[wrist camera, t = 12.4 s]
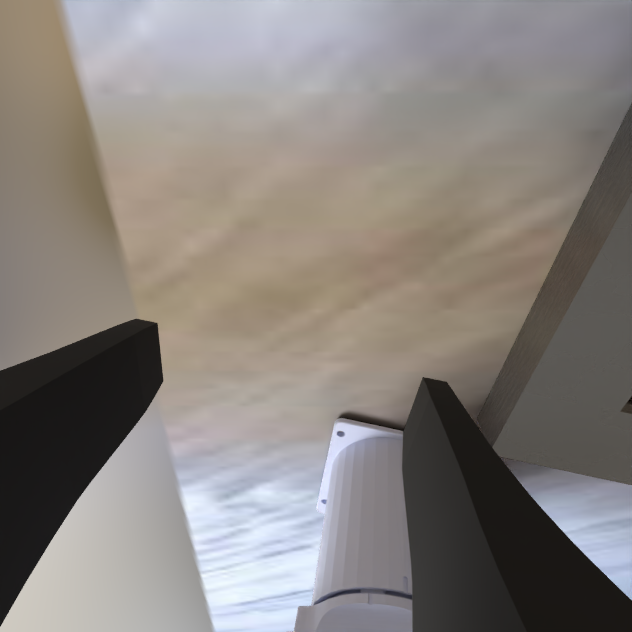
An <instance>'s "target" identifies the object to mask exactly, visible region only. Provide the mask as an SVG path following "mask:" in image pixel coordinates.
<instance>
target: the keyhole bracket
mask: <svg viewBox="0 0 632 632" xmlns="http://www.w3.org/2000/svg"><path fill="white" fill-rule="evenodd" d="M631 396H632V104H631V106H630V108H629V110H628V112H627V114H626V116H625V118H624V120H623V122H622V124H621V126H620V128H619V131H618V133H617V135H616V137H615V139H614V141H613V143H612V145H611V147H610V149H609V151H608V153H607V155H606V157H605V159H604V161H603V163H602V165H601V167H600V169H599V171H598V173H597V175H596V178H595V180H594V182H593V184H592V186H591V188H590V190H589V192H588V194H587V196H586V198H585V200H584V202H583V204H582V206H581V208H580V210H579V212H578V214H577V216H576V218H575V220H574V222H573V225H572V227H571V229H570V231H569V233H568V235H567V237H566V239H565V241H564V243H563V245H562V247H561V249H560V251H559V253H558V255H557V257H556V259H555V261H554V263H553V265H552V267H551V269H550V271H549V274H548V276H547V278H546V280H545V282H544V284H543V286H542V288H541V290H540V292H539V294H538V296H537V298H536V300H535V302H534V304H533V306H532V308H531V310H530V312H529V314H528V316H527V318H526V321H525V323H524V325H523V327H522V329H521V331H520V333H519V335H518V337H517V339H516V341H515V343H514V345H513V347H512V349H511V351H510V353H509V355H508V357H507V359H506V361H505V363H504V365H503V368H502V370H501V372H500V374H499V376H498V378H497V380H496V382H495V384H494V386H493V388H492V390H491V392H490V394H489V396H488V398H487V400H486V402H485V404H484V406H483V408H482V410H481V412H480V414H479V417H478V420H479V424H480V427H481V430H482V434H483V435H484V437H485V438H486V440H487V441H488V442H489V444H490V445H491V446H492V448H493V449H494V451H495V452H496V453H497V455H498V456H499V457H504V458H509V459H513V460H518V461H522V462H527V463H532V464H536V465H541V466H546V467H550V468H555V469H559V470H564V471H569V472H573V473H578V474H583V475H587V476H592V477H596V478H601V479H606V480H610V481H615V482H620V483H624V484H629V485H632V404H630V403H627V402H628V400H629V399H630V398H631Z"/></svg>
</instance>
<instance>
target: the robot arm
mask: <svg viewBox="0 0 632 632" xmlns="http://www.w3.org/2000/svg"><path fill="white" fill-rule="evenodd" d="M162 383H163V373H162V363H161V354H160V344H159V334H158V324H157V323H154V322H150V321H145V320H140V319H134V320H131V321H128V322H125V323H122V324H120V325H117V326H115V327H112V328H109V329H107V330H105V331H102V332H99V333H97V334H95V335H92V336H90V337H87V338H85V339H82V340H80V341H77V342H75V343H72V344H70V345H67V346H65V347H62V348H60V349H58V350H55V351H52V352H50V353H47V354H44V355H42V356H39V357H36V358H34V359H31V360H29V361H26V362H23V363H20V364H17V365H15V366H12V367H9V368H7V369H4V370H1V371H0V626H1V624H2V623H3V621H4V619H5V617H6V616H7V614H8V612H9V610H10V609H11V607H12V605H13V603H14V602H15V600H16V598H17V596H18V595H19V593H20V591H21V589H22V588H23V586H24V584H25V583H26V581H27V579H28V578H29V576H30V574H31V573H32V571H33V570H34V568H35V566H36V564H37V563H38V561H39V560H40V558H41V556H42V555H43V553H44V552H45V550H46V548H47V547H48V545H49V543H50V542H51V540H52V539H53V537H54V535H55V534H56V532H57V531H58V529H59V528H60V526H61V525H62V523H63V522H64V520H65V518H66V517H67V515H68V514H69V512H70V511H71V509H72V508H73V506H74V504H75V503H76V501H77V500H78V499H79V497H80V496H81V494H82V493H83V492H84V490H85V489H86V488H87V486H88V485H89V483H90V482H91V481H92V479H93V478H94V477H95V476H96V475H97V473H98V472H99V471H100V470H101V468H102V467H103V466H104V464H105V463H106V462H107V460H108V459H109V458H110V457H111V456H112V454H113V453H114V452H115V450H116V449H117V448H118V447H119V445H120V444H121V443H122V442H123V440H124V439H125V438H126V437H127V435H128V434H129V433H130V431H131V430H132V429H133V428H134V426H135V425H136V423H137V422H138V421H139V420H140V418H141V417H142V416H143V414H144V413H145V411H146V410H147V408H148V407H149V405H150V403H151V402H152V400H153V399H154V397H155V395H156V393H157V391H158V390H159V388H160V386H161V384H162ZM339 431H343V432H339ZM316 510H317V511H318V512H319V513H322V514H325V516H324V523H323V529H322V536H321V543H320V550H319V557H318V563H317V570H316V577H315V584H314V591H313V597H312V604H311V606H299V607H298V611H297V617H296V623H295V628H294V631H288V632H632V600H631V599H630V598H629V597H627V596H626V595H625V594H624V593H623V592H622V591H621V590H620V589H619V588H618V587H617V586H616V585H615V584H614V583H613V582H612V581H611V580H610V579H609V578H608V577H607V576H606V575H605V574H604V573H603V572H602V571H601V570H600V569H599V568H598V567H597V566H596V565H595V564H594V563H593V562H592V561H591V560H590V559H589V558H588V557H587V556H586V555H585V554H584V553H583V552H582V551H581V550H580V549H579V548H578V547H577V546H576V545H575V544H574V543H573V542H572V541H571V540H570V539H569V538H568V537H567V536H566V535H565V533H564V532H563V531H562V530H561V529H560V528H559V527H558V526H557V525H556V524H555V523H554V521H553V520H552V519H551V518H550V517H549V516H548V515H547V514H546V513H545V512H544V511H543V509H542V508H541V507H540V506H539V505H538V504H537V503H536V501H535V500H534V499H533V498H532V497H531V496H530V495H529V493H528V492H527V491H526V490H525V488H524V487H523V486H522V485H521V484H520V482H519V481H518V480H517V479H516V477H515V476H514V475H513V474H512V472H511V471H510V470H509V469H508V467H507V466H506V465H505V464H504V462H503V461H502V460H501V458H500V457H499V456H498V455H497V453H496V452H495V451H494V449H493V448H492V446H491V445H490V444H489V442H488V441H487V440H486V438H485V437H484V435H483V434H482V433H481V431H480V430H479V428H478V427H477V426H476V424H475V423H474V421H473V420H472V418H471V417H470V415H469V414H468V413H467V411H466V410H465V408H464V407H463V405H462V404H461V402H460V401H459V399H458V398H457V396H456V395H455V393H454V392H453V390H452V389H451V387H450V386H449V385H448V383H447V382H444V381H439V380H434V379H429V378H424V377H423V378H422V381H421V384H420V387H419V389H418V392H417V395H416V398H415V401H414V403H413V406H412V409H411V412H410V415H409V417H408V420H407V423H406V426H405V429H404V431H400V430H396V429H391V428H386V427H382V426H377V425H373V424H368V423H363V422H359V421H354V420H349V419H345V418H339V419H337V420H336V421H335V423H334V428H333V433H332V437H331V442H330V446H329V451H328V455H327V460H326V465H325V469H324V474H323V478H322V483H321V487H320V492H319V497H318V501H317V506H316Z"/></svg>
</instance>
